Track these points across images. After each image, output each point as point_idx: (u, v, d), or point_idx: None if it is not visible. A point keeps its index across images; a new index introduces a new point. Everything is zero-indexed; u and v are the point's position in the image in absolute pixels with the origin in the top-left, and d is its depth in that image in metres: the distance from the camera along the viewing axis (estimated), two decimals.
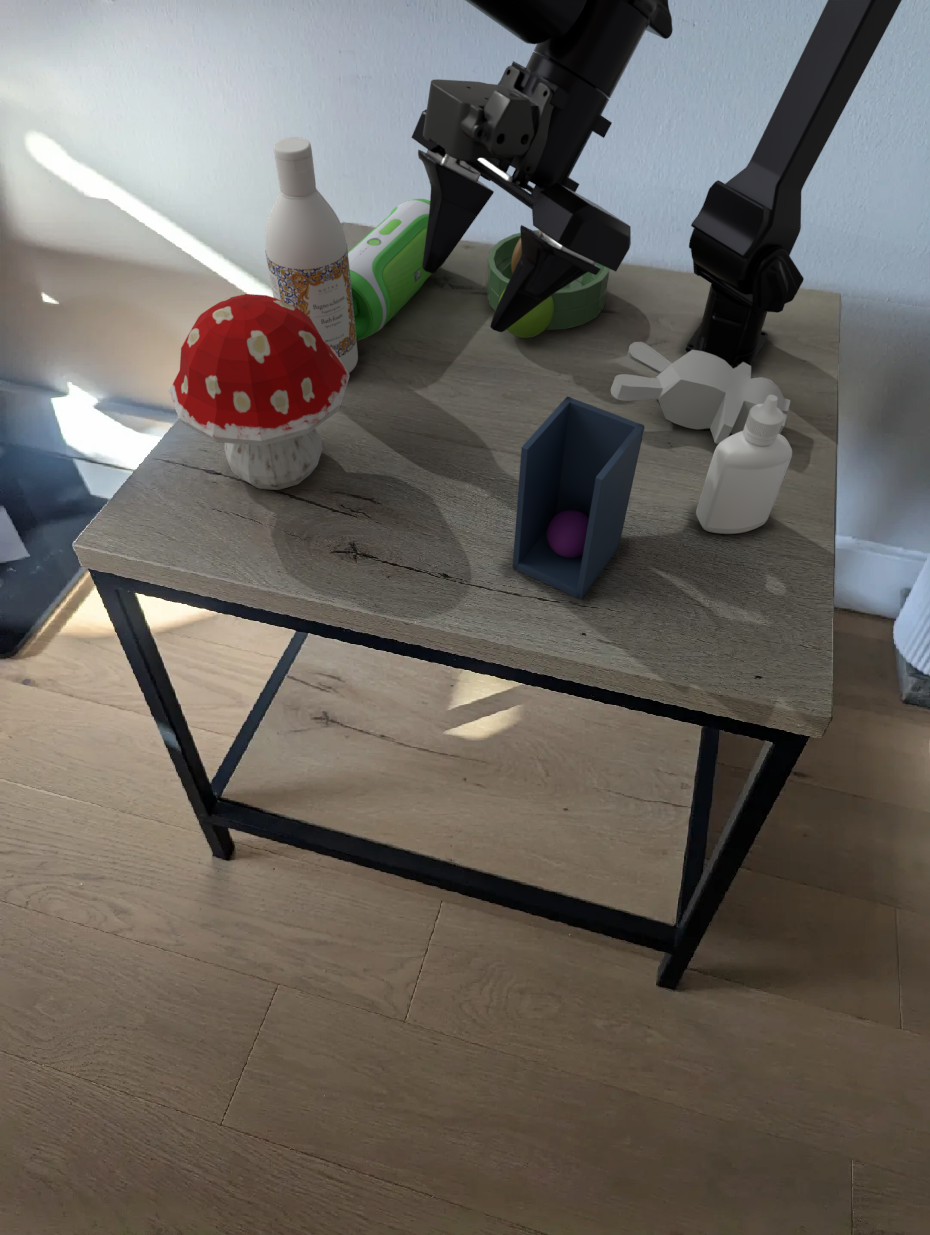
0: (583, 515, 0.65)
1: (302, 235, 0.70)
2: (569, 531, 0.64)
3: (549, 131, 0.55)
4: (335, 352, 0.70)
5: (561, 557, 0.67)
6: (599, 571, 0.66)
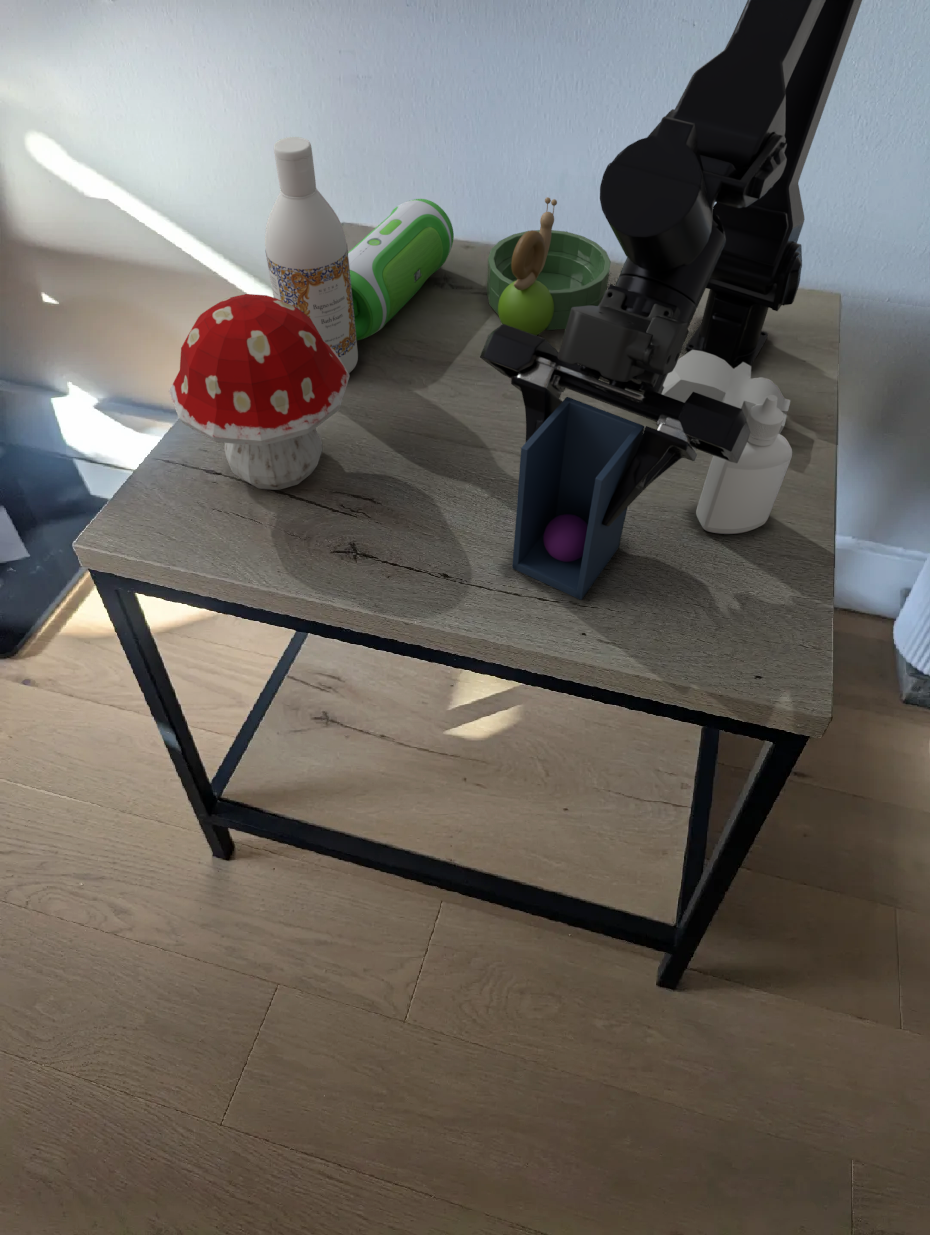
0: (577, 521, 0.64)
1: (302, 235, 0.70)
2: (563, 541, 0.64)
3: None
4: (335, 352, 0.70)
5: None
6: (599, 571, 0.66)
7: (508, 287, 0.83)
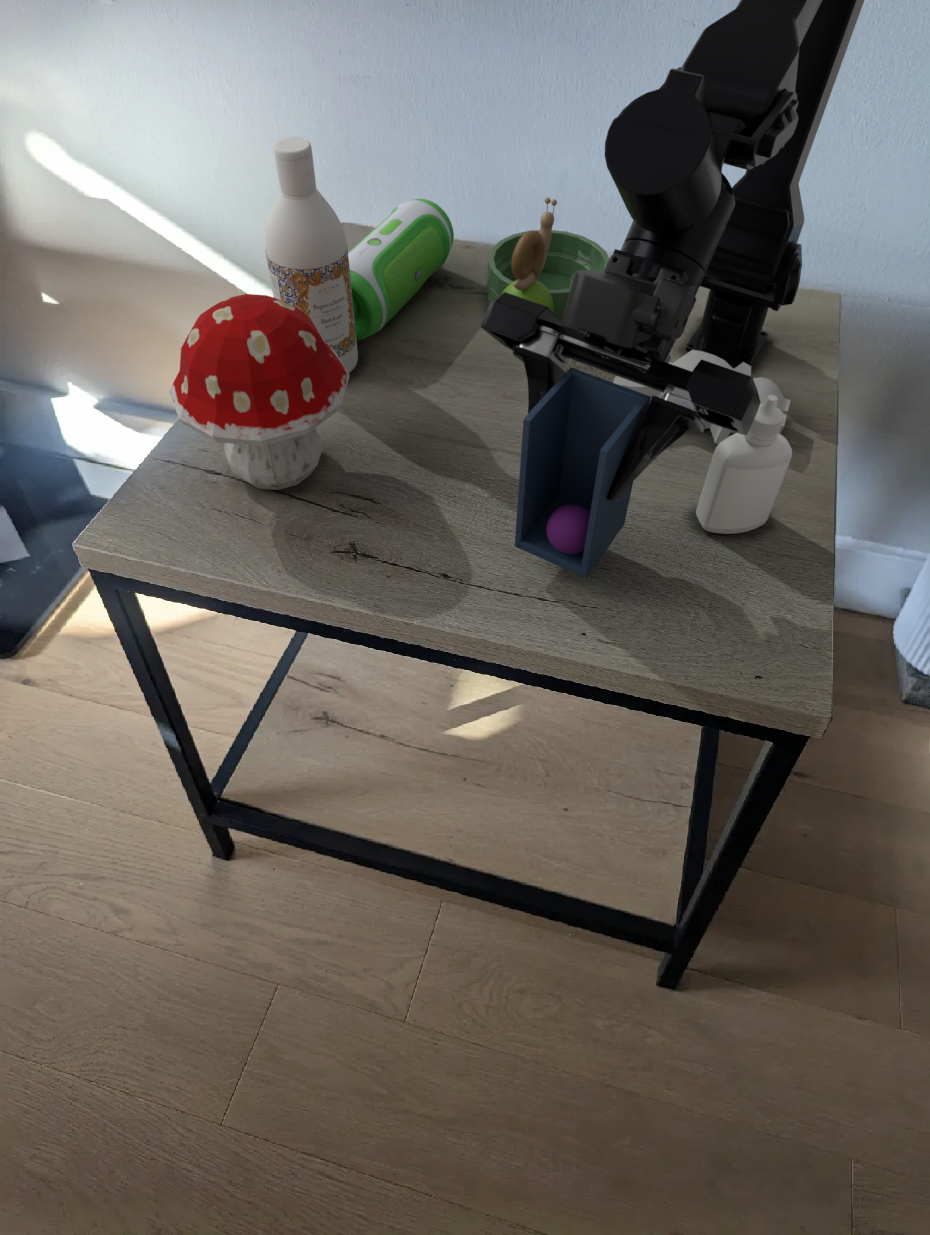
0: (580, 529, 0.61)
1: (302, 235, 0.70)
2: (562, 548, 0.62)
3: None
4: (335, 352, 0.70)
5: None
6: (604, 549, 0.64)
7: (508, 287, 0.83)
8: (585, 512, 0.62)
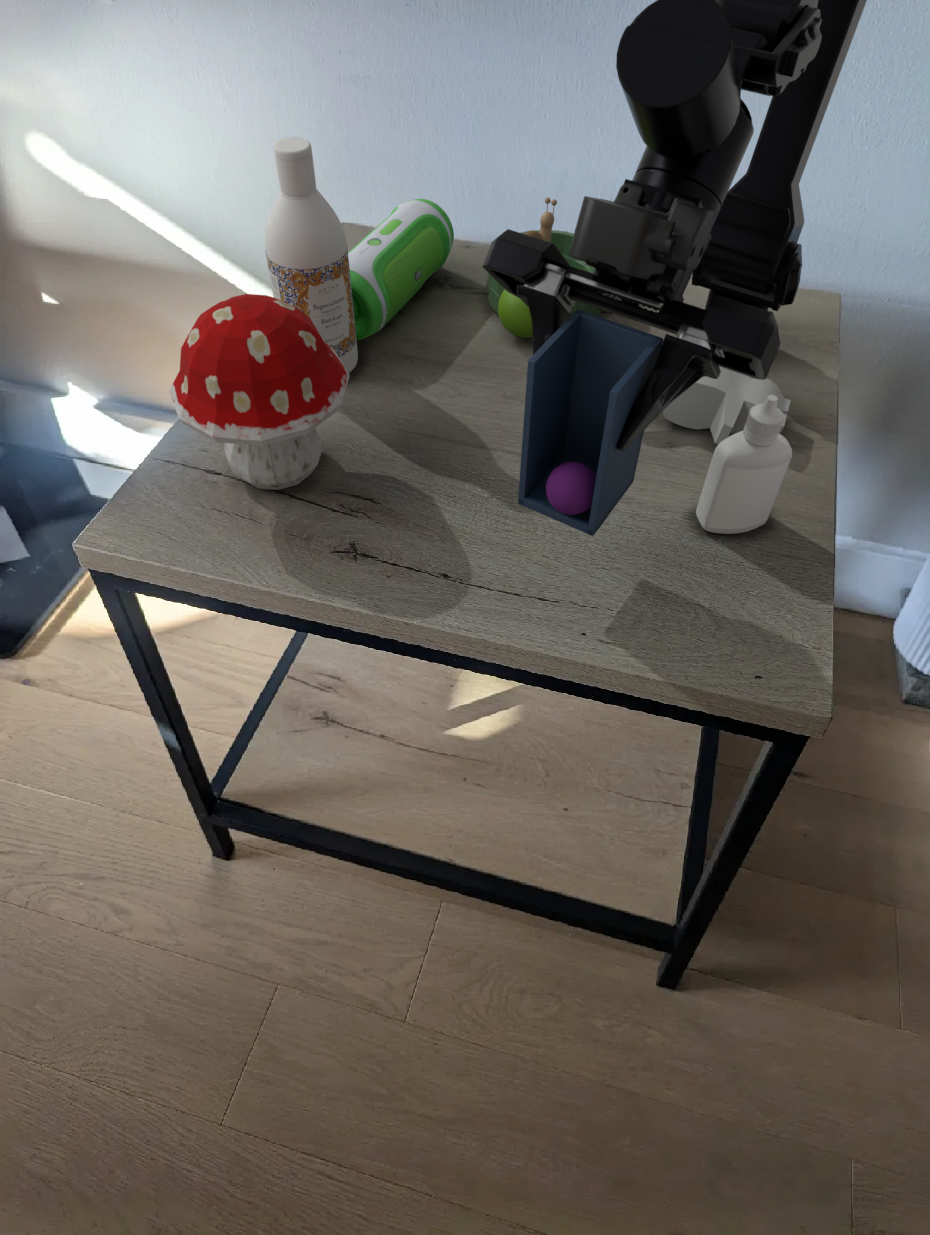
0: (578, 492, 0.57)
1: (302, 235, 0.70)
2: (564, 512, 0.59)
3: None
4: (335, 352, 0.70)
5: None
6: (612, 506, 0.61)
7: None
8: (582, 471, 0.58)
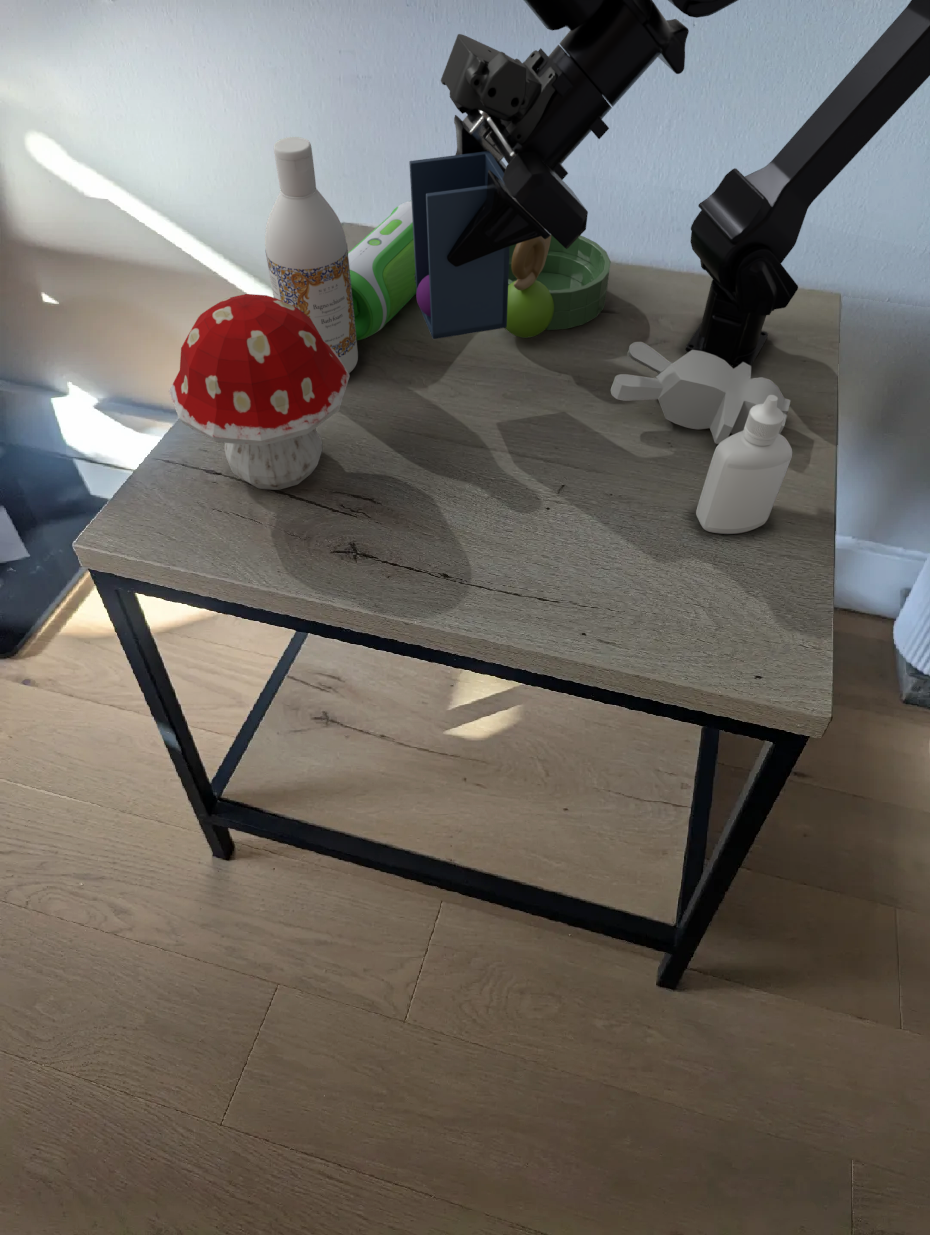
0: (426, 292, 0.71)
1: (302, 235, 0.70)
2: (421, 309, 0.73)
3: (547, 111, 0.62)
4: (335, 352, 0.70)
5: None
6: (465, 329, 0.73)
7: (508, 287, 0.83)
8: None
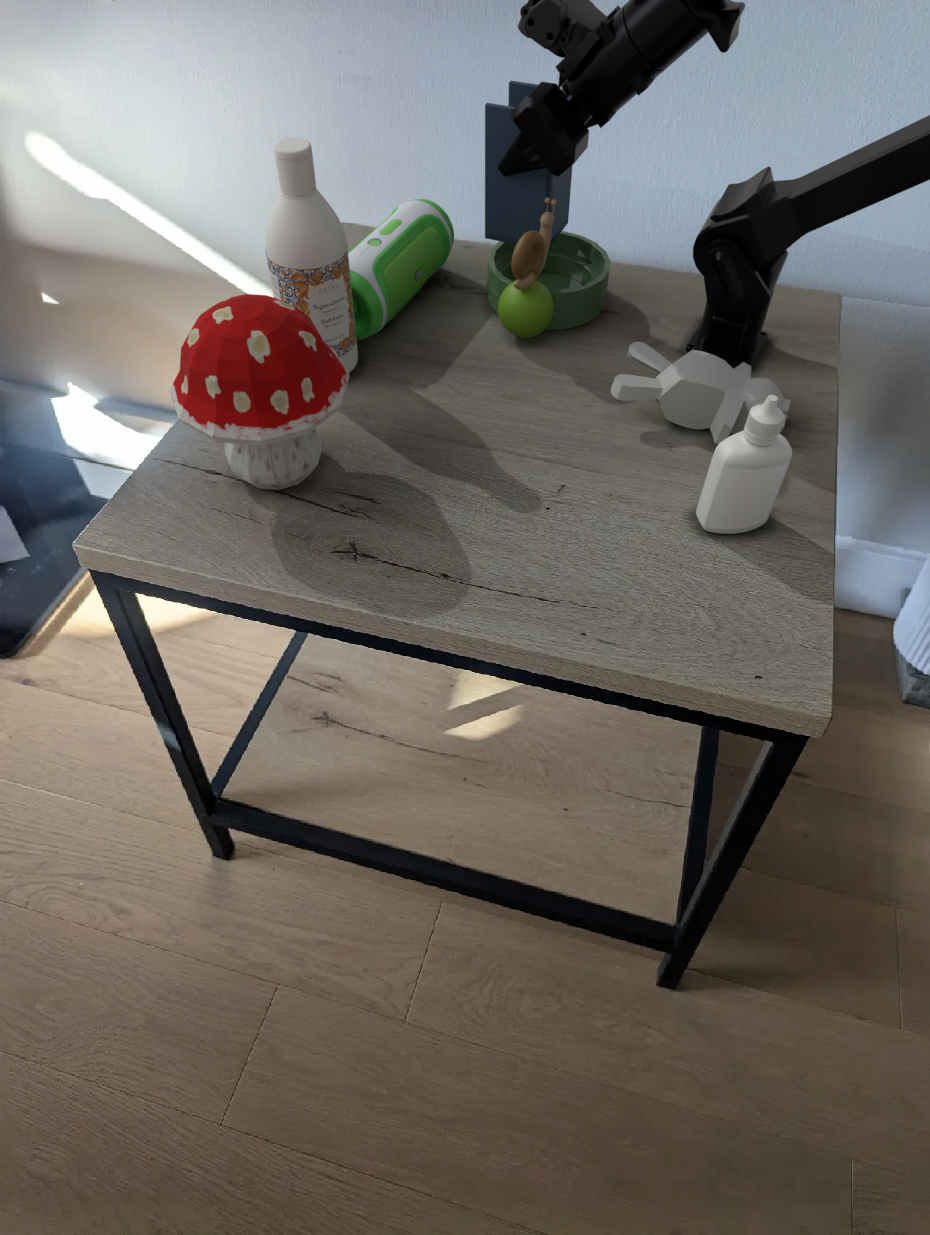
0: None
1: (302, 235, 0.70)
2: None
3: (593, 56, 0.70)
4: (335, 352, 0.70)
5: None
6: (512, 238, 0.84)
7: (508, 287, 0.83)
8: None
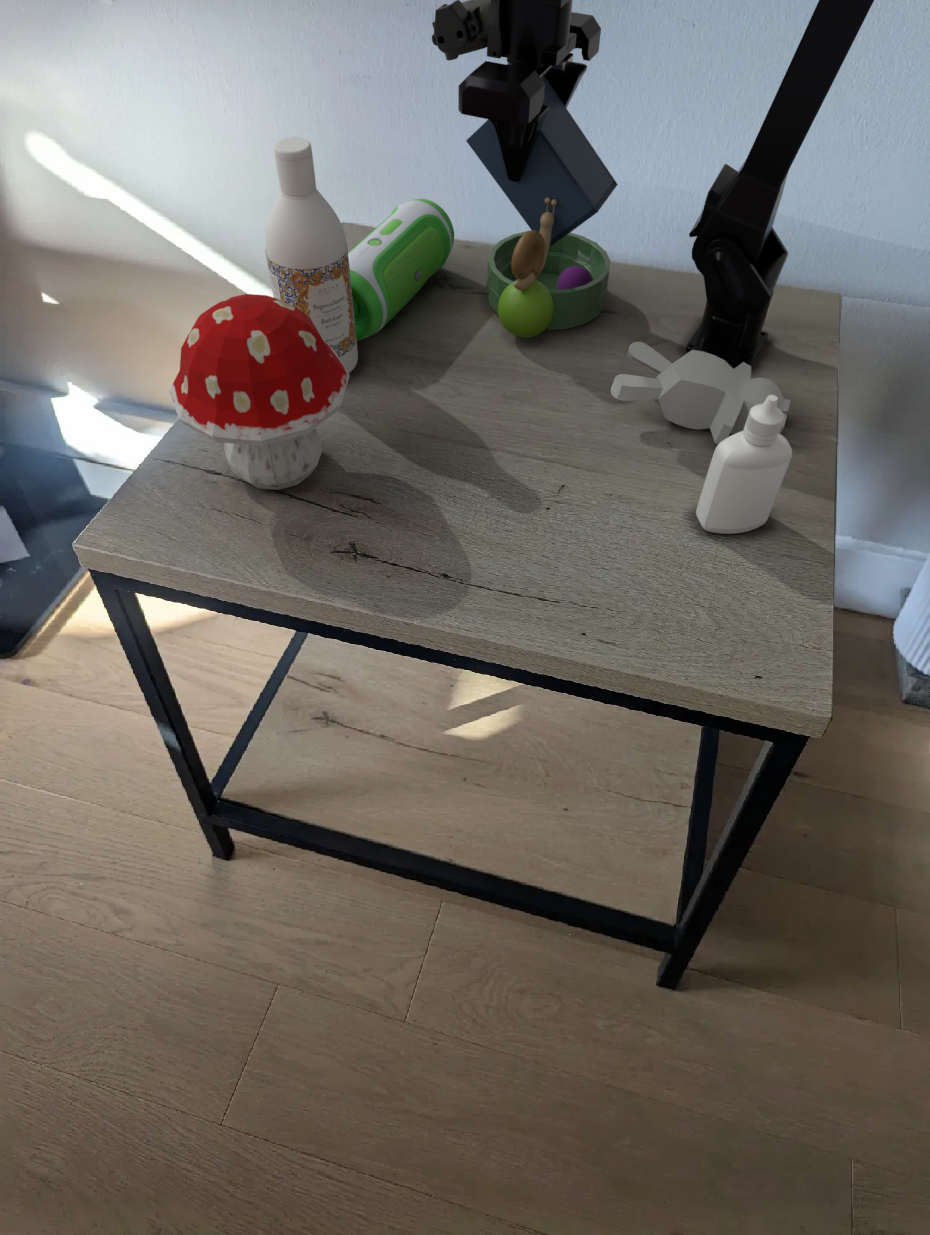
0: (572, 277, 0.86)
1: (302, 235, 0.70)
2: (558, 284, 0.88)
3: (506, 18, 0.71)
4: (335, 352, 0.70)
5: None
6: (564, 229, 0.81)
7: (508, 287, 0.83)
8: (586, 275, 0.87)
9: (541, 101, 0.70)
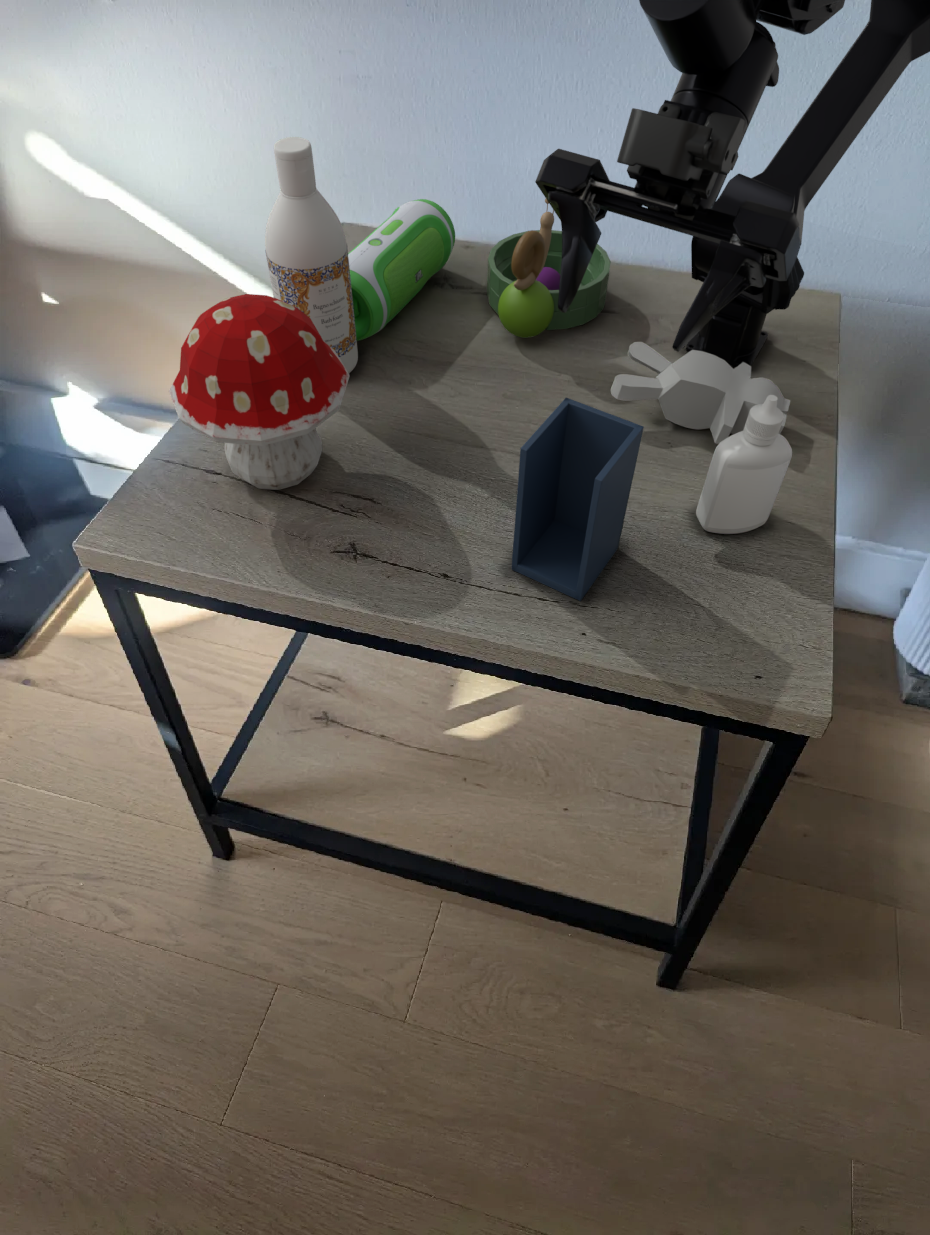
0: None
1: (302, 235, 0.70)
2: None
3: None
4: (335, 352, 0.70)
5: (560, 558, 0.67)
6: (598, 572, 0.66)
7: (508, 287, 0.83)
8: None
9: None
